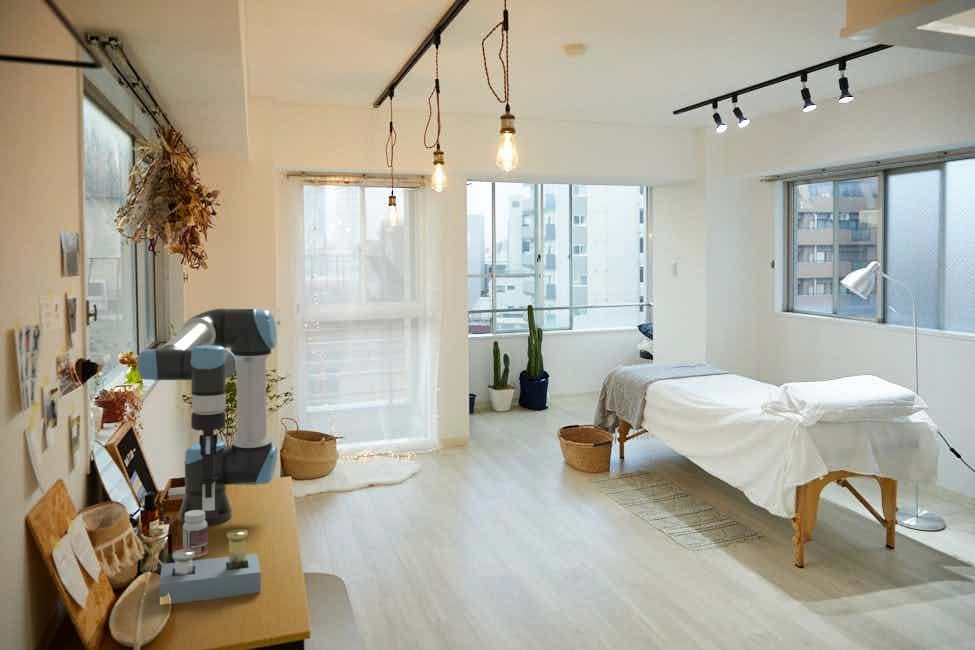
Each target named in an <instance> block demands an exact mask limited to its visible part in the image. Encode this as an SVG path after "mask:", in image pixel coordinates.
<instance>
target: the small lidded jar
mask: <svg viewBox="0 0 975 650" xmlns="http://www.w3.org/2000/svg"><path fill="white" fill-rule="evenodd" d="M194 556H195V551H194V550H192V549H183V548H181V549H177V550H175V551H173V552H172V561H174V563H175V576H182V575H191V574H192V561H193V559H194V558H193V557H194Z"/></svg>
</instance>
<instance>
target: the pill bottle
mask: <svg viewBox="0 0 975 650" xmlns="http://www.w3.org/2000/svg"><path fill="white" fill-rule="evenodd" d="M204 519H205V511H202V510H192V511H188V512H186V513H185V518H184V520H185V521H186V522H185V523H184V524H182V549H192V550H194V551H195V556H194V557H193V558H192V559H196V558H200V557H203V556H205V555H207V554H208V547H209V546H208V539H209V538H208V525H207V522H206V521H205V520H204Z"/></svg>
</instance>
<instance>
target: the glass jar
mask: <svg viewBox="0 0 975 650" xmlns="http://www.w3.org/2000/svg"><path fill="white" fill-rule="evenodd" d="M248 536H249V531H248V530H247V529H244V528H243V529H241V528H240V529H232V530H229V531H227V533H226V539H227V540H228V557H229V569H231V570H234V569H242V568H245V567H246V555H247V554H246V552H247V551H246V547H247V545H246V543H247V542H246V539H247V538H248Z"/></svg>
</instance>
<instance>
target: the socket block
mask: <svg viewBox="0 0 975 650" xmlns="http://www.w3.org/2000/svg"><path fill="white" fill-rule="evenodd" d="M261 572H262V571H261V567H260V561H259V556H258V553H251V554H246V567H245V568H242V569H234V570H231V569H229V556H224V557H216V558H215V557H214V558H205V559H197V560H192V574H191V575H182V576H175V562H169V563H161V568H160V576H159V582H158V592H159V593H158V595H159V596H158V598H159V597H164V596H166V595H167V594H168V593H169V595H170V598H171V602H172V604H171V605H175V604H181V603H190V602H198V601H204V600H205V601H206V600H212V599H213V600H214V599H221V598H229V597H230V598H231V597H236V596H237V597H238V596H245V595H252V594H258V593H259V594H260V593H261V588H262V587H261V585H262V584H261V582H262V574H261Z"/></svg>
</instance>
